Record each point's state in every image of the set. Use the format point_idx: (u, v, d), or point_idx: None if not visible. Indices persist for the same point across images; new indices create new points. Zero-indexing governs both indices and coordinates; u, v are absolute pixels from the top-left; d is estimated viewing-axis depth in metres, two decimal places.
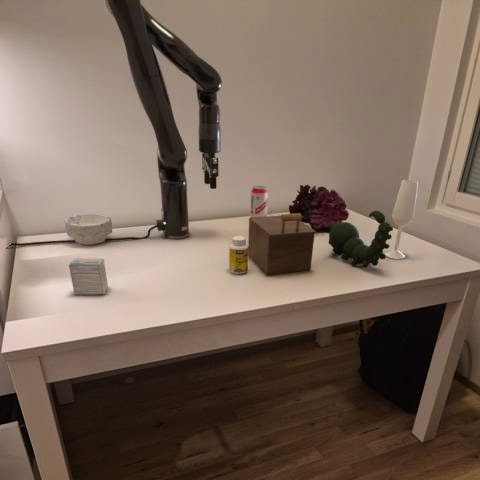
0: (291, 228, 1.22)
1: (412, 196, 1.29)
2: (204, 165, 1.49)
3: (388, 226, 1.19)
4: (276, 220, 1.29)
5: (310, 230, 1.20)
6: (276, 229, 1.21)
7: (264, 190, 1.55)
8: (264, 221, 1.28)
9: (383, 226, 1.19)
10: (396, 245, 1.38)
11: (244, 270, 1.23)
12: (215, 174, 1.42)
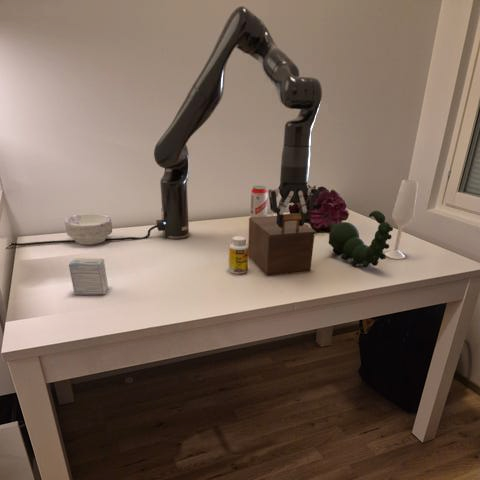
0: (291, 228, 1.22)
1: (412, 196, 1.29)
2: None
3: (388, 226, 1.19)
4: None
5: (310, 230, 1.20)
6: (276, 229, 1.21)
7: (264, 190, 1.55)
8: (264, 221, 1.28)
9: (383, 226, 1.19)
10: (396, 245, 1.38)
11: (244, 270, 1.23)
12: (272, 209, 1.15)
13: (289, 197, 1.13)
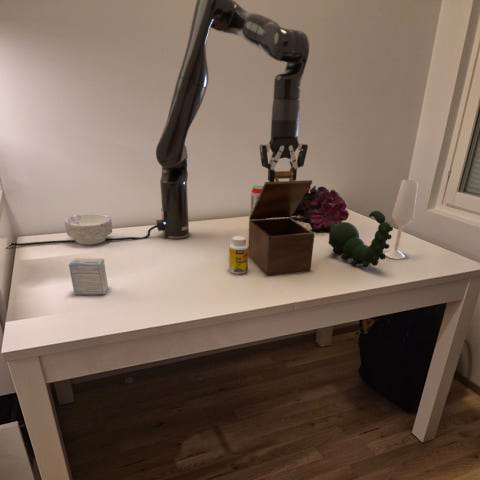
0: None
1: (412, 196, 1.29)
2: None
3: (388, 226, 1.19)
4: None
5: None
6: None
7: None
8: None
9: (383, 226, 1.19)
10: (396, 245, 1.38)
11: (244, 270, 1.23)
12: (263, 164, 1.17)
13: (280, 152, 1.15)
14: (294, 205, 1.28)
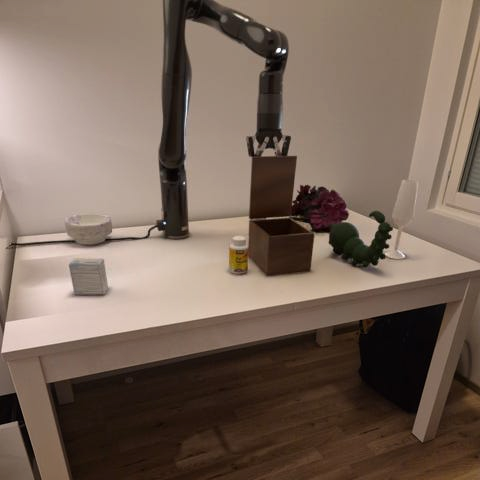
0: None
1: (412, 196, 1.29)
2: None
3: (388, 226, 1.19)
4: None
5: None
6: None
7: None
8: None
9: (383, 226, 1.19)
10: (396, 245, 1.38)
11: (244, 270, 1.23)
12: (250, 154, 1.27)
13: (265, 143, 1.25)
14: (289, 195, 1.31)
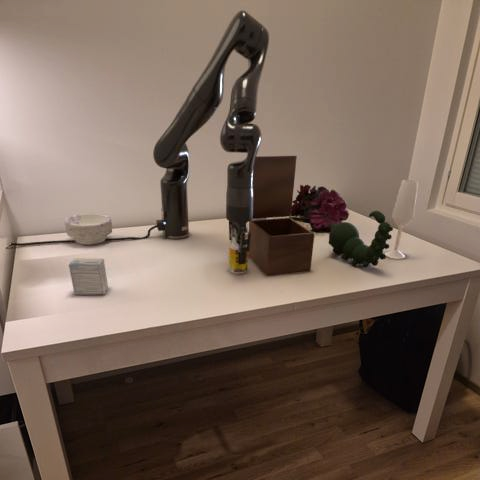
0: None
1: (412, 196, 1.29)
2: None
3: (388, 226, 1.19)
4: None
5: None
6: None
7: None
8: None
9: (383, 226, 1.19)
10: (396, 245, 1.38)
11: (244, 270, 1.23)
12: None
13: (231, 230, 1.21)
14: (289, 195, 1.31)
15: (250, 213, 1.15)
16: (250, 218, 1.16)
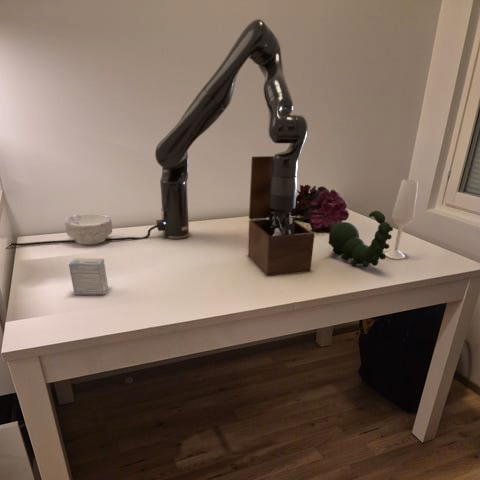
0: None
1: (412, 196, 1.29)
2: None
3: (388, 226, 1.19)
4: None
5: None
6: None
7: None
8: None
9: (383, 226, 1.19)
10: (396, 245, 1.38)
11: None
12: None
13: (273, 219, 1.26)
14: None
15: (294, 202, 1.20)
16: (293, 207, 1.21)
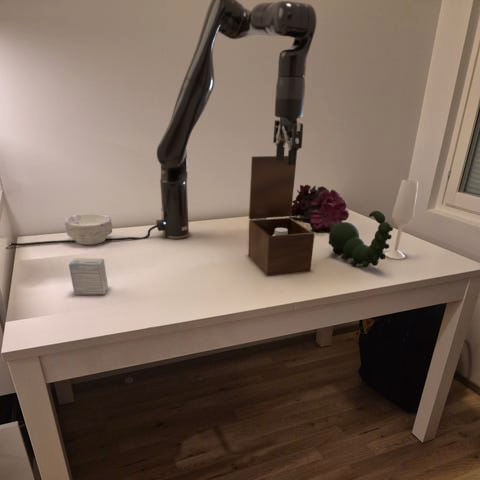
0: None
1: (412, 196, 1.29)
2: None
3: (388, 226, 1.19)
4: None
5: None
6: None
7: None
8: None
9: (383, 226, 1.19)
10: (396, 245, 1.38)
11: None
12: None
13: (279, 131, 1.14)
14: (289, 195, 1.31)
15: (301, 107, 1.08)
16: (301, 114, 1.09)
